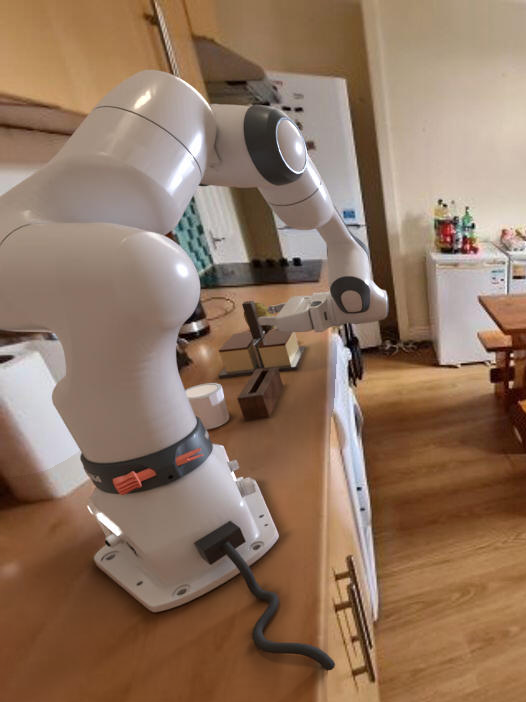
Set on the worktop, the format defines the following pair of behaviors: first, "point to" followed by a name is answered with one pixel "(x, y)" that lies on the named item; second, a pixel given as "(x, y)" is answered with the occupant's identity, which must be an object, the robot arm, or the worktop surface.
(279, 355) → the cake
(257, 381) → the knife block
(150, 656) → the worktop surface
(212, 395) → the white cylinder
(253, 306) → the knife
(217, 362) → the worktop surface
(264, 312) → the kiwi fruit
